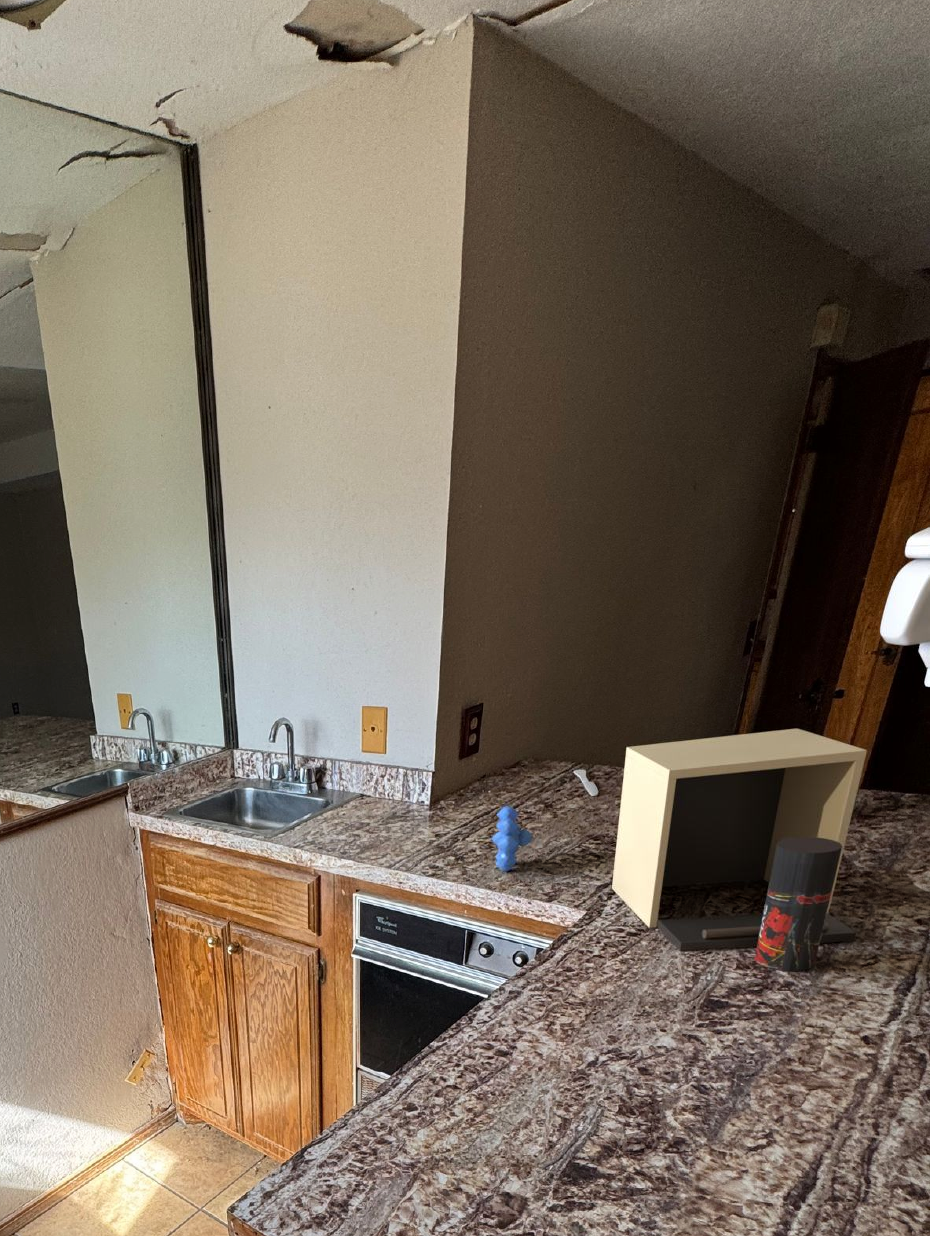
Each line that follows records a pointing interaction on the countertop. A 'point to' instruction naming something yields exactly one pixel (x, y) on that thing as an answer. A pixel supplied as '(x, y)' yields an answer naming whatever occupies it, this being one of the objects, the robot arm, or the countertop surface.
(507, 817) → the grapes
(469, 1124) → the countertop surface
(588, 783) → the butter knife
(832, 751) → the cream cabinet
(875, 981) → the countertop surface
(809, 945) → the deodorant
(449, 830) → the countertop surface
